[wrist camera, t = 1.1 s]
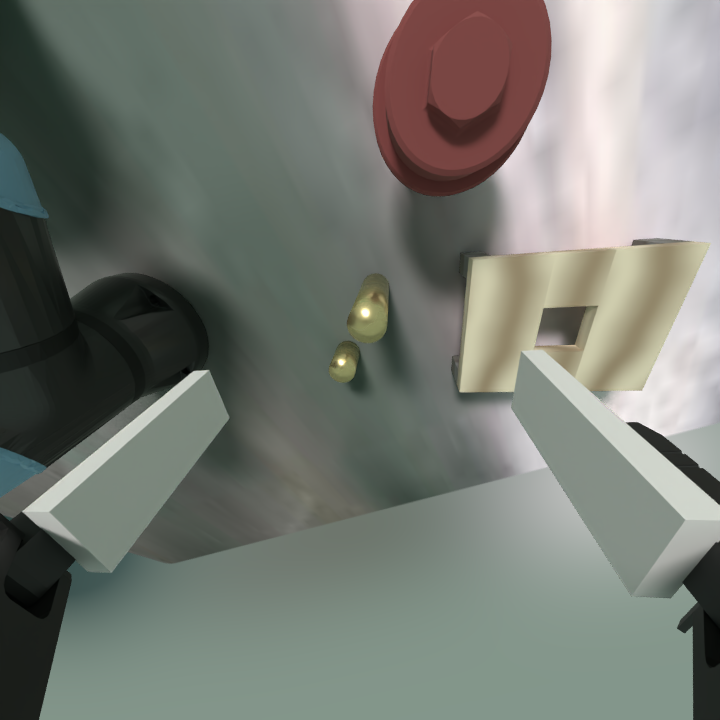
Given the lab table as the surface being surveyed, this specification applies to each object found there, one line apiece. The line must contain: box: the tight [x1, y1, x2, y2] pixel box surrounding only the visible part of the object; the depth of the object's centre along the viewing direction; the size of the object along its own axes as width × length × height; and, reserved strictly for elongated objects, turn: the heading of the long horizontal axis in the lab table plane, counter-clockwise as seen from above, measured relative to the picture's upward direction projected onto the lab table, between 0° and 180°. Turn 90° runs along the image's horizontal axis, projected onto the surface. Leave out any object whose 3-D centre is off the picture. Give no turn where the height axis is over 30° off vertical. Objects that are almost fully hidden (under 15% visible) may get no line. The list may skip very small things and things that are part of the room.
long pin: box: [347, 274, 389, 343], centre depth 26 cm, size 3×3×12 cm
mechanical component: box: [373, 0, 551, 196], centre depth 19 cm, size 12×10×10 cm
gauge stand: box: [451, 238, 711, 392], centre depth 28 cm, size 18×14×5 cm
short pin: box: [329, 341, 360, 383], centre depth 33 cm, size 3×3×5 cm
